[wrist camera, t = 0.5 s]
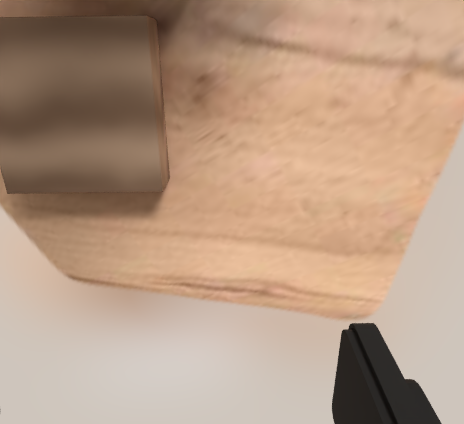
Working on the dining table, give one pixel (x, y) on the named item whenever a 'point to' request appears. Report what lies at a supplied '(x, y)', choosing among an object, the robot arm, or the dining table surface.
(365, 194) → the dining table surface
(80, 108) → the walnut base
